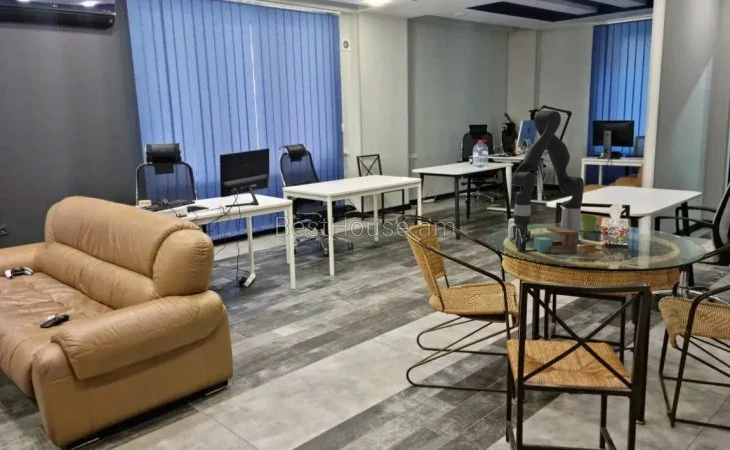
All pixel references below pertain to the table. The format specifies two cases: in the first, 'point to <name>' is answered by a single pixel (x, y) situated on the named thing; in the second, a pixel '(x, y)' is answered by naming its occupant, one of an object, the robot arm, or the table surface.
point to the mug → (511, 228)
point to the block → (538, 244)
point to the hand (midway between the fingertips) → (520, 249)
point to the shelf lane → (564, 240)
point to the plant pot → (588, 222)
